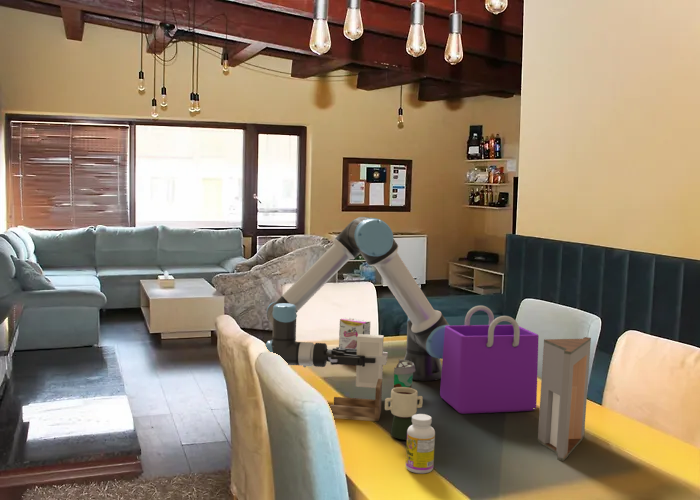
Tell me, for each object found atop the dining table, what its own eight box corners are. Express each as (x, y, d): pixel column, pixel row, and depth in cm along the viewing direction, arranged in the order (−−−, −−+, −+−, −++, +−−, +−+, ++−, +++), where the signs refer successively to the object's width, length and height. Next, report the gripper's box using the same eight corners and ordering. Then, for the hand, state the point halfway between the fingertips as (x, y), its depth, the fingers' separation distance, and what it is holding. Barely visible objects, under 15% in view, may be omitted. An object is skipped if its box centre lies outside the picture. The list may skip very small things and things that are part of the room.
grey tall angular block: (563, 461, 176) (570, 351, 173) (526, 452, 181) (532, 346, 178) (584, 437, 193) (590, 337, 191) (549, 429, 199) (555, 332, 196)
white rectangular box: (382, 384, 223) (383, 335, 222) (381, 388, 219) (382, 338, 217) (357, 382, 224) (358, 333, 223) (355, 386, 220) (357, 336, 218)
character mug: (415, 431, 193) (417, 385, 192) (426, 440, 186) (428, 393, 185) (378, 434, 190) (380, 387, 188) (388, 444, 183) (390, 395, 182)
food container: (412, 400, 221) (413, 369, 220) (392, 398, 222) (394, 367, 221) (416, 389, 233) (417, 360, 232) (397, 387, 234) (399, 358, 233)
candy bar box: (337, 361, 267) (339, 318, 265) (344, 358, 271) (346, 317, 269) (362, 366, 261) (364, 322, 259) (369, 363, 265) (371, 320, 263)
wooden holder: (380, 411, 209) (382, 378, 208) (378, 421, 200) (380, 387, 199) (334, 408, 211) (335, 375, 210) (329, 417, 202) (330, 383, 201)
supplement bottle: (403, 463, 171) (405, 412, 169) (430, 463, 171) (432, 412, 170) (407, 474, 164) (410, 421, 163) (435, 474, 165) (438, 421, 163)
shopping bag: (501, 390, 235) (506, 302, 233) (545, 410, 216) (551, 314, 213) (430, 398, 224) (434, 306, 221) (469, 420, 204) (474, 319, 201)
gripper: (318, 359, 232) (388, 363, 229) (308, 373, 215) (384, 377, 212) (318, 337, 231) (389, 340, 228) (309, 349, 214) (385, 353, 211)
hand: (386, 358), depth 220 cm, fingers closed on white rectangular box, 4 cm apart
